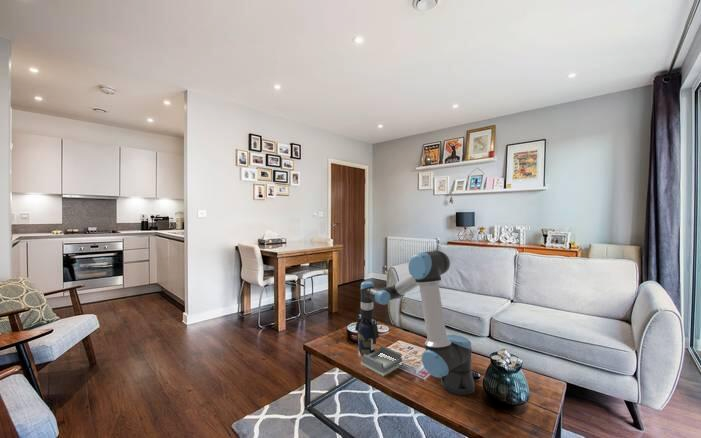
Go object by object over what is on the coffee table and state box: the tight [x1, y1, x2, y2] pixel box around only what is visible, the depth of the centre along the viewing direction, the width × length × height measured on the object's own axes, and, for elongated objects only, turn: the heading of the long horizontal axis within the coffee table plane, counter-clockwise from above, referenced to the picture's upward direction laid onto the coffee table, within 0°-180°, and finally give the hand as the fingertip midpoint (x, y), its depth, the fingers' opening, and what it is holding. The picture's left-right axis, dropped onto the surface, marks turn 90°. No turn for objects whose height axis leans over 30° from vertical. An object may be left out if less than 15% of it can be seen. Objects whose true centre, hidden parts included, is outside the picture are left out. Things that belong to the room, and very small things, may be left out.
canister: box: [358, 323, 376, 355], centre depth 171 cm, size 10×10×18 cm
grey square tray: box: [360, 345, 403, 377], centre depth 157 cm, size 16×16×6 cm
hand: (366, 346), depth 171 cm, fingers closed on canister, 9 cm apart
